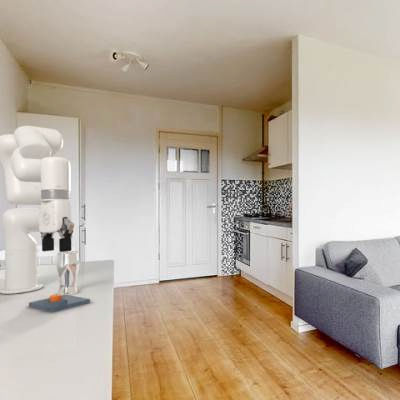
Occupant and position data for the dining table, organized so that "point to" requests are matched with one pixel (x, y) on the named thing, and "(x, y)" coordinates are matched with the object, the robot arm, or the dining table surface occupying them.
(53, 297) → the button
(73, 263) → the beer glass
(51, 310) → the scale
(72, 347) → the dining table surface
